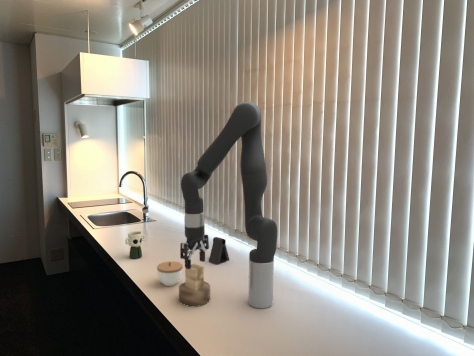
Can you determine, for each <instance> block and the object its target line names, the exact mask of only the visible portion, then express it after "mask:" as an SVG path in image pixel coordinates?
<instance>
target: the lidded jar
mask: <svg viewBox="0 0 474 356" xmlns="http://www.w3.org/2000/svg"><path fill="white" fill-rule="evenodd" d="M183 267H184V265H183V263H181V262H179V261H171V260H169V261H165V262H161V263H159V264H157V266H156V271H157V277H158V280H159V281H160V282H161V283H162V285H163V286H166V287H172V286H176V285H177V284H178V282H180V281H181V280H182V279H181V278H182V275H183Z"/></svg>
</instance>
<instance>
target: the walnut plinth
mask: <svg viewBox="0 0 474 356" xmlns="http://www.w3.org/2000/svg"><path fill="white" fill-rule="evenodd" d="M209 300H210V301H211V284H210V283H209V282H208V281H205V280H204V286H203V287H201V288H199V289H198V290H196V291H195V290H192V289H189V288H185V281H184V282H182V283H181V284H180V285H179V286H178V301H180V302H181V303H182V304H181V303H180V302H179V303H180V304H181V305H183V304H185V305H188V306H187V307H191V306H195V307H199V306H198V305H201V306H204V305H206V304H208V303H209V302H210V301H209ZM207 302H208V303H207ZM205 303H206V304H205ZM203 304H204V305H203ZM185 305H184V306H185Z"/></svg>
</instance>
